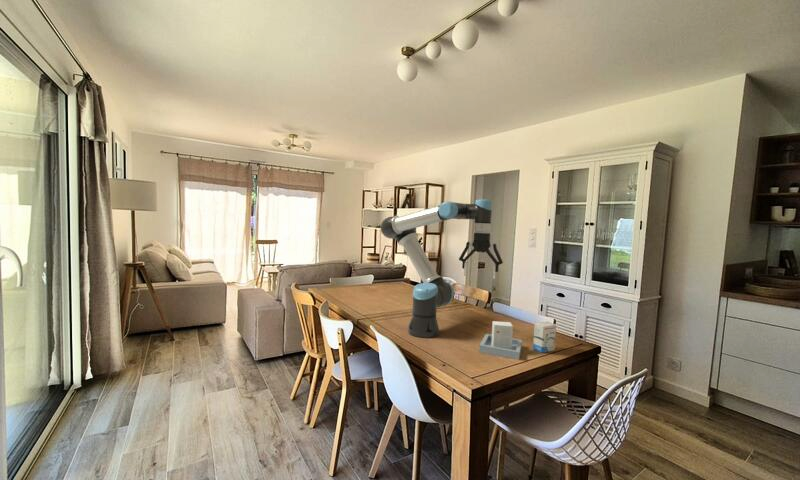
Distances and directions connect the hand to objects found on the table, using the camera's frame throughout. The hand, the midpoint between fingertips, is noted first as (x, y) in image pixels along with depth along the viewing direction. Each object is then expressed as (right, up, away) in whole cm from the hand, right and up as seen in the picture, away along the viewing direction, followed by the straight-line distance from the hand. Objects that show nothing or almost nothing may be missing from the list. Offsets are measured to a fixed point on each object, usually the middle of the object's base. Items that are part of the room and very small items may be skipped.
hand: (479, 277), depth 160 cm
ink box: (+25, -31, -12) cm, 42 cm away
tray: (+6, -30, -13) cm, 33 cm away
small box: (+6, -29, -13) cm, 33 cm away
